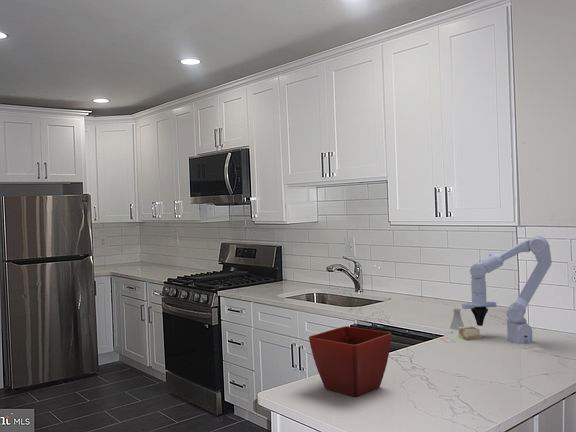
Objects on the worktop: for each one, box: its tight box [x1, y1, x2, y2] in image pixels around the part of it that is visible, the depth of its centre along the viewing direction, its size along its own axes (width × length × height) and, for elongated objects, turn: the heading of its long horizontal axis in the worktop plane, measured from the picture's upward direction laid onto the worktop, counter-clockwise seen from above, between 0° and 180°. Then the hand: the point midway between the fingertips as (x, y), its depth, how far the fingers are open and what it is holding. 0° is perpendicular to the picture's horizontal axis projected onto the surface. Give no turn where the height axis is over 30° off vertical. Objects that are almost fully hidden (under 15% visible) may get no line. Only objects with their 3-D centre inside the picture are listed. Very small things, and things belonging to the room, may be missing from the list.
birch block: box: [458, 325, 481, 341], centre depth 221 cm, size 6×6×4 cm
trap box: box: [439, 334, 489, 343], centre depth 221 cm, size 7×18×2 cm, turn 102°
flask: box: [449, 308, 465, 331], centre depth 240 cm, size 7×7×10 cm
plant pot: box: [308, 325, 392, 397], centre depth 169 cm, size 19×19×17 cm
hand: (479, 325), depth 222 cm, fingers closed
